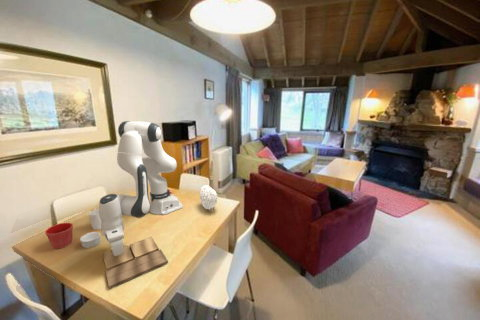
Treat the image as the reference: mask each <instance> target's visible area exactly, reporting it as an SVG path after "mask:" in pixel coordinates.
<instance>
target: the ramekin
mask: <svg viewBox="0 0 480 320" xmlns="http://www.w3.org/2000/svg"><path fill="white" fill-rule="evenodd" d="M79 241H80V242H81V245H82V247H83V248H85V249H87V248H88V249H89V248H92V247H95V246H97V245H98V244H99V243H100V242H101V233H100V232H99V231H92V232H91V231H90V232H87V233H86V234H84V235H82V236H81V237H80V238H79Z"/></svg>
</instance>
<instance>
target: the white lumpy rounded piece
mask: <svg viewBox="0 0 480 320" xmlns="http://www.w3.org/2000/svg"><path fill="white" fill-rule="evenodd" d="M199 199H200V202H201V205H202V207H203V208H204V209H205V210H207V209H209V211H210V210H211V212H212V211H213V210H214V209H213V208H214V207H215V206H216V204H217V202H218V193H217V192H216V190H215V189H213V188H212V187H211V186H210V185H208V184H204V185H203V186H202V187H201V188H200V191H199ZM213 212H214V211H213Z"/></svg>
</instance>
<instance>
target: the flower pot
mask: <svg viewBox="0 0 480 320" xmlns="http://www.w3.org/2000/svg"><path fill="white" fill-rule="evenodd" d="M73 228H74V224H73V223H71V222H62V223H57V224H55V225H52V226H50V227H48V228H47V229H46V230H45V232H44V234H45V235H46V237H47V239H48V241H49V242H50V245H51V246H52V248H53V249H55V250H59V249H63V248H65V247H68V246H69V245H71V243H72V242H73V231H74V229H73Z"/></svg>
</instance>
